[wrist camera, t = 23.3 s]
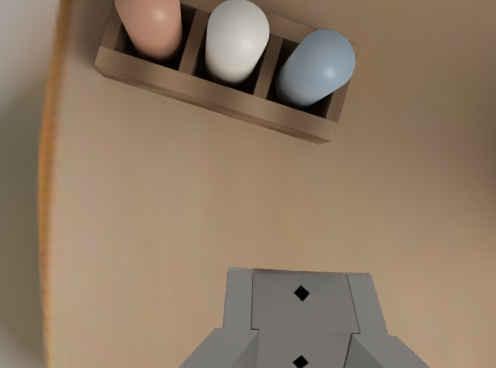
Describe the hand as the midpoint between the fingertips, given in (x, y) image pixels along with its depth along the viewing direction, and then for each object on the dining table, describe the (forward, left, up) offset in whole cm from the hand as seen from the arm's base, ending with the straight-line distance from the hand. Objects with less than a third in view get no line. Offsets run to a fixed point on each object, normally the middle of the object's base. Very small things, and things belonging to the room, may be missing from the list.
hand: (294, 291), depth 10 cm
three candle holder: (-7, -10, -29) cm, 32 cm away
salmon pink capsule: (-3, -14, -27) cm, 31 cm away
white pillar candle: (-7, -10, -27) cm, 30 cm away
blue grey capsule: (-11, -5, -27) cm, 30 cm away
